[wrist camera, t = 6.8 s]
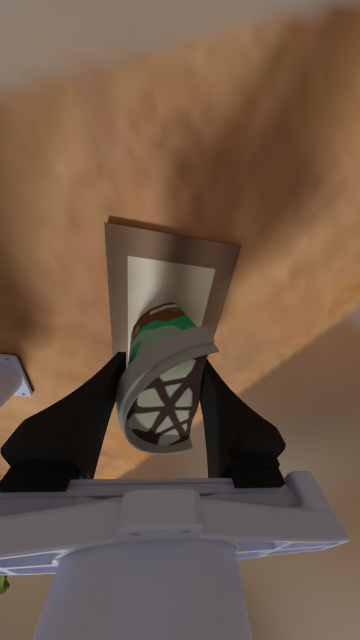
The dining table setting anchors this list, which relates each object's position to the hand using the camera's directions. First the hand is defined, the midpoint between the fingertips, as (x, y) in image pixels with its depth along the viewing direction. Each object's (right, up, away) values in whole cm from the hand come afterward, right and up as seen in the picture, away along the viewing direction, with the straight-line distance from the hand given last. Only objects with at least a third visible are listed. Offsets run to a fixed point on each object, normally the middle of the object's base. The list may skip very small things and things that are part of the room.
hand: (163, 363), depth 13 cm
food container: (-3, +2, +6) cm, 7 cm away
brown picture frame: (0, +3, +6) cm, 7 cm away
